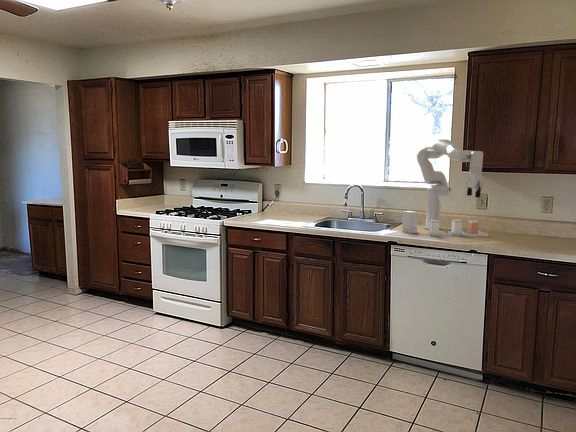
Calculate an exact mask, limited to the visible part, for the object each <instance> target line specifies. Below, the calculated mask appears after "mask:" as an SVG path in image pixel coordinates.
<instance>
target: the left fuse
mask: <svg viewBox="0 0 576 432" xmlns="http://www.w3.org/2000/svg"><path fill="white" fill-rule="evenodd" d="M428 231H429V232H431V236H439V231H440V230H439V221H438V220H429V229H428Z"/></svg>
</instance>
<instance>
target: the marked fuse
mask: <svg viewBox="0 0 576 432" xmlns="http://www.w3.org/2000/svg"><path fill="white" fill-rule="evenodd" d="M479 224H480V223H479V220H468V224H467V230H468V233H467V234H478V231H479V227H480V226H479Z"/></svg>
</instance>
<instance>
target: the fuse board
mask: <svg viewBox="0 0 576 432" xmlns="http://www.w3.org/2000/svg"><path fill="white" fill-rule="evenodd" d="M453 233H454V232H453V231H449V230H448V231H447V233H443V231H440V230H439V236H431V232H429V230H428V231H427V233H425V234H424V235H425V236H428V237H430V238H447V237H449V238H452V237H453V238H454V237H455V238H456V237H459V238H460V237H465V235H462V232H461V235H460V236H454V235H453Z"/></svg>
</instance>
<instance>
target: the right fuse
mask: <svg viewBox="0 0 576 432" xmlns="http://www.w3.org/2000/svg"><path fill="white" fill-rule="evenodd" d="M462 228H463V219H459V218H458V219H451V228H450V229H451V231H453V232H454V233H453V235H454V236H460V235H461V232H462V231H463V229H462ZM451 231H450V232H451Z"/></svg>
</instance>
